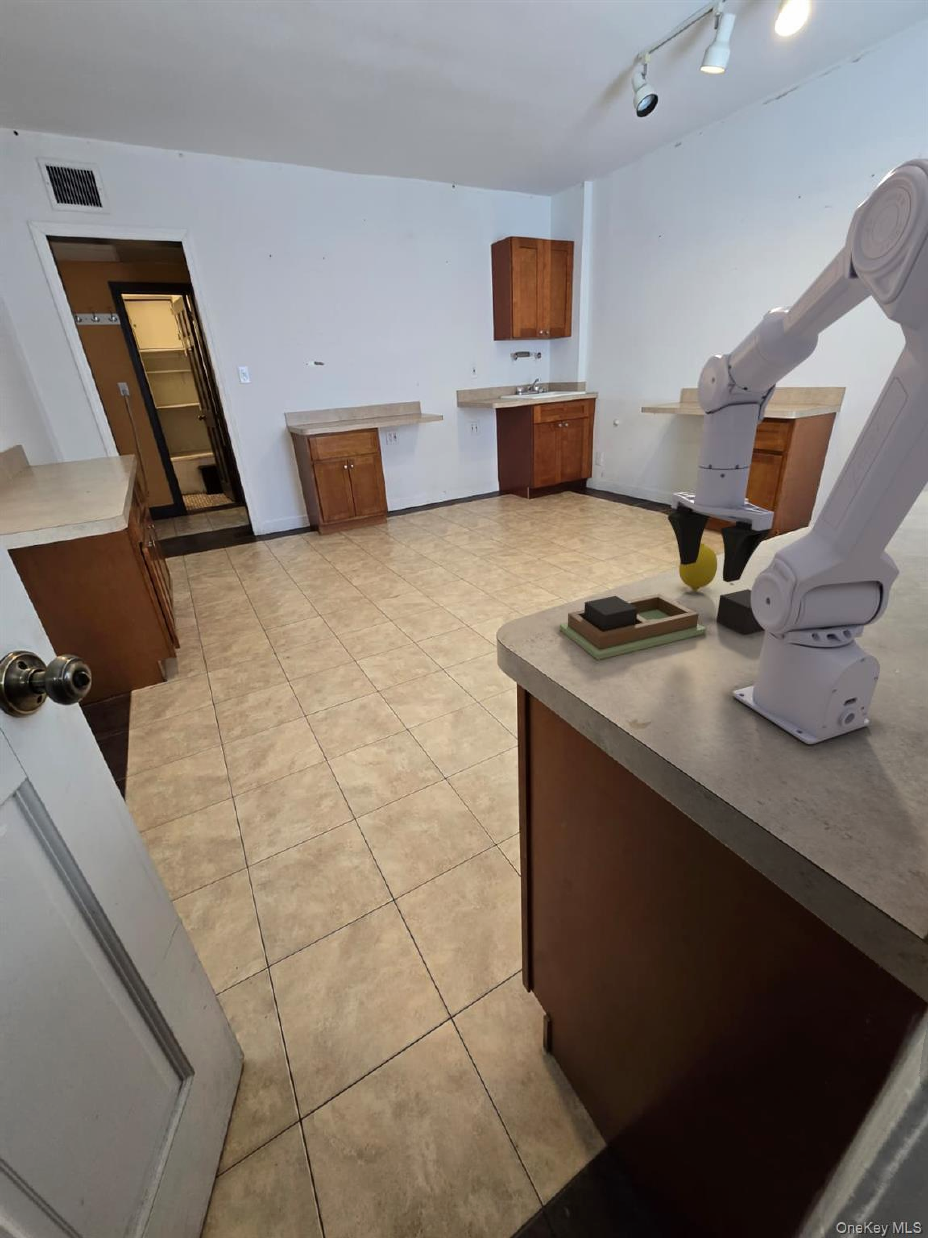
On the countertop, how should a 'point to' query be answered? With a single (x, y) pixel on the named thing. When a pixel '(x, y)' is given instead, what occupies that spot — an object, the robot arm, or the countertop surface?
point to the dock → (636, 628)
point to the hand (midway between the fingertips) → (708, 571)
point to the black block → (738, 612)
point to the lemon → (700, 569)
